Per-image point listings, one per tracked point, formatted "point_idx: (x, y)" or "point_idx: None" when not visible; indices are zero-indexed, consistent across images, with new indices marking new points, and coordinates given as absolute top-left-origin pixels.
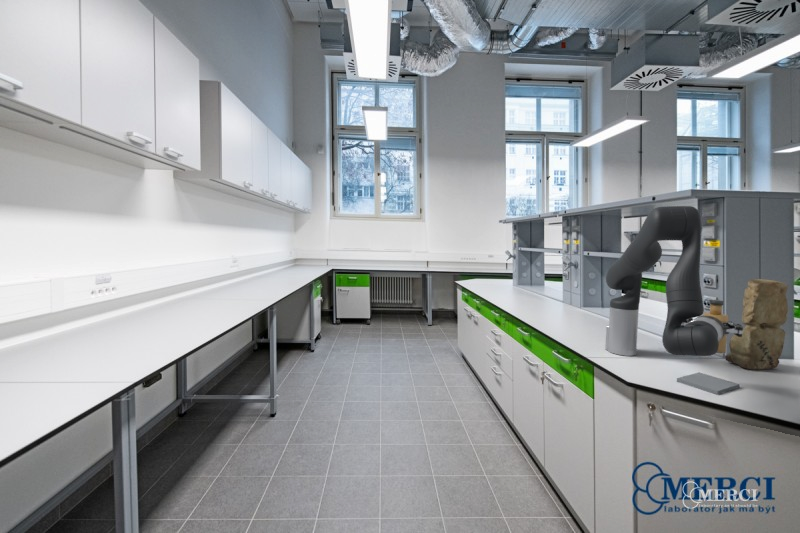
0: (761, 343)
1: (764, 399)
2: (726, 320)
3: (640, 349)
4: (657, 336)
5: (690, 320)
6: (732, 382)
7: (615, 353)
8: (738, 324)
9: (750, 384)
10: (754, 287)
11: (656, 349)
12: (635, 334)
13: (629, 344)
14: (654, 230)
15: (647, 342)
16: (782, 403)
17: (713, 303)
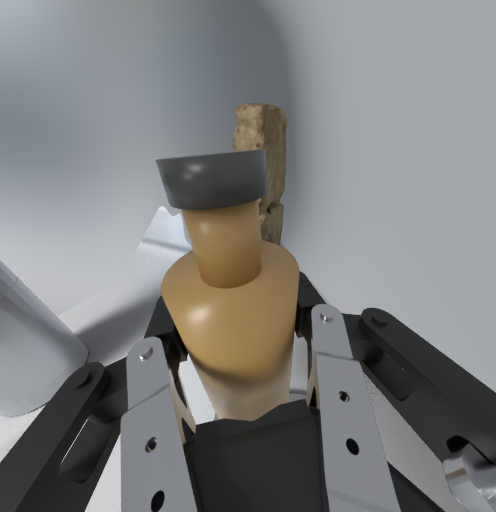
0: (270, 237)
1: (389, 454)
2: (297, 295)
3: (109, 314)
4: (147, 245)
5: (88, 407)
6: (294, 399)
7: (11, 416)
8: (386, 323)
9: (300, 348)
10: (256, 118)
11: (140, 292)
12: (37, 340)
13: (33, 379)
14: None
15: (129, 272)
16: (417, 440)
17: (202, 195)
